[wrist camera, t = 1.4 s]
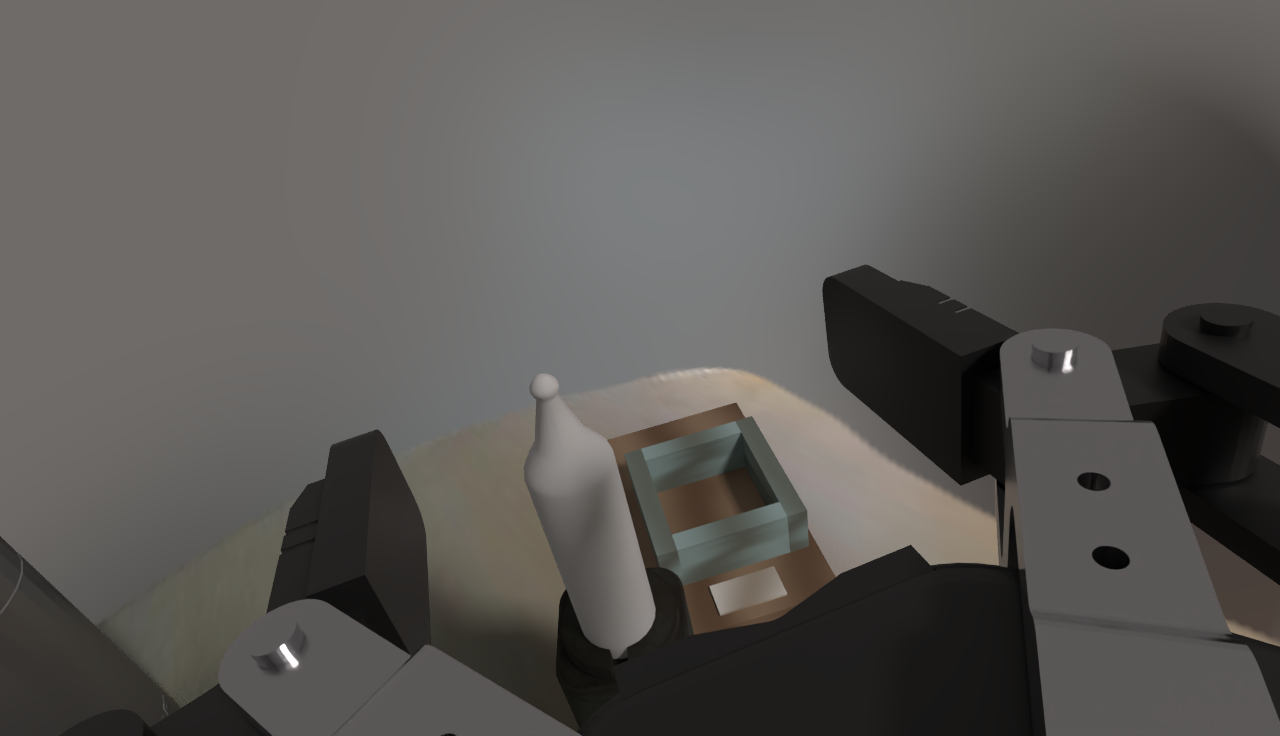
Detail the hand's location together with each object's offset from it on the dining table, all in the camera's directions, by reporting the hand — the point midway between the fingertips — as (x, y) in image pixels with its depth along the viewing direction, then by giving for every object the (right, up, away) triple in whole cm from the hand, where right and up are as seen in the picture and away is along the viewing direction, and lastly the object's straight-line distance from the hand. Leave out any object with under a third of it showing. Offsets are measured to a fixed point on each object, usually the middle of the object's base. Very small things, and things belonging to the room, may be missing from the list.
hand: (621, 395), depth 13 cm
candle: (+2, -20, +23) cm, 30 cm away
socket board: (+4, -10, +35) cm, 37 cm away
